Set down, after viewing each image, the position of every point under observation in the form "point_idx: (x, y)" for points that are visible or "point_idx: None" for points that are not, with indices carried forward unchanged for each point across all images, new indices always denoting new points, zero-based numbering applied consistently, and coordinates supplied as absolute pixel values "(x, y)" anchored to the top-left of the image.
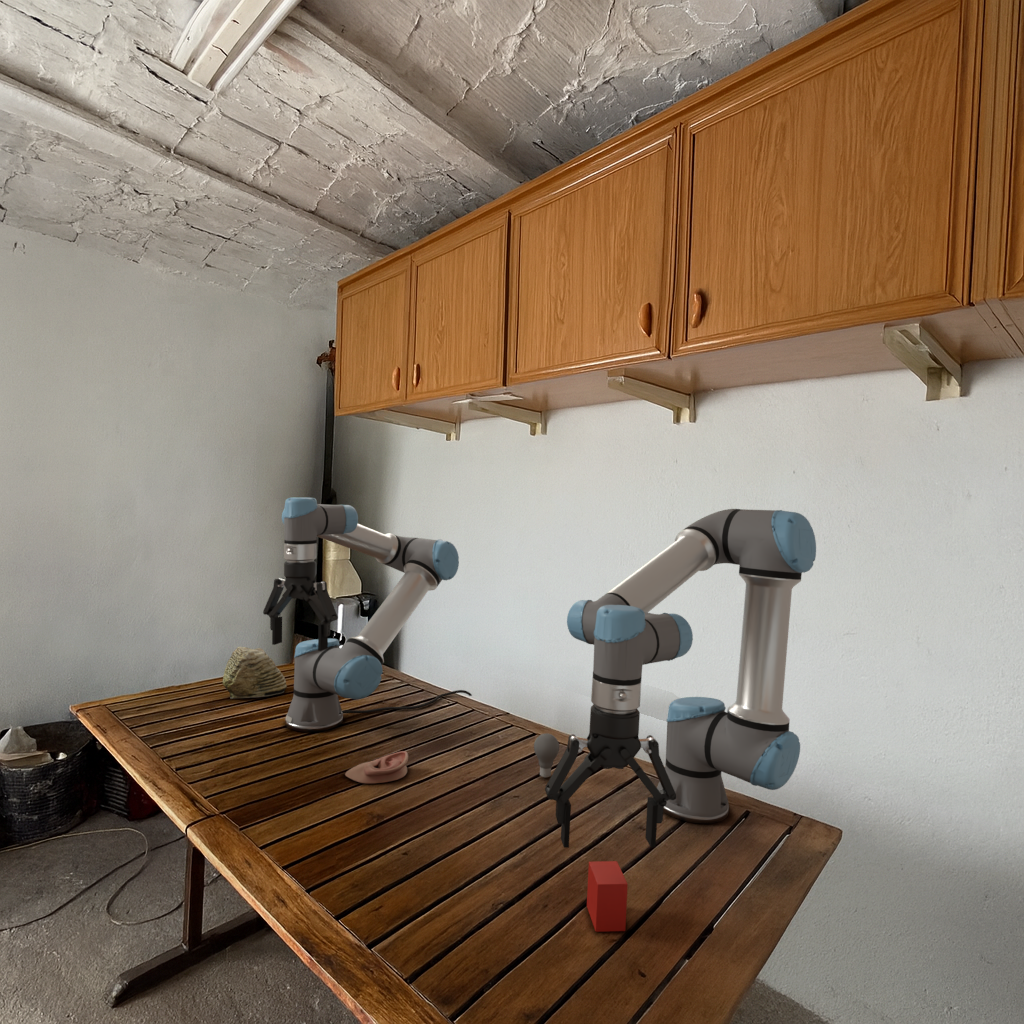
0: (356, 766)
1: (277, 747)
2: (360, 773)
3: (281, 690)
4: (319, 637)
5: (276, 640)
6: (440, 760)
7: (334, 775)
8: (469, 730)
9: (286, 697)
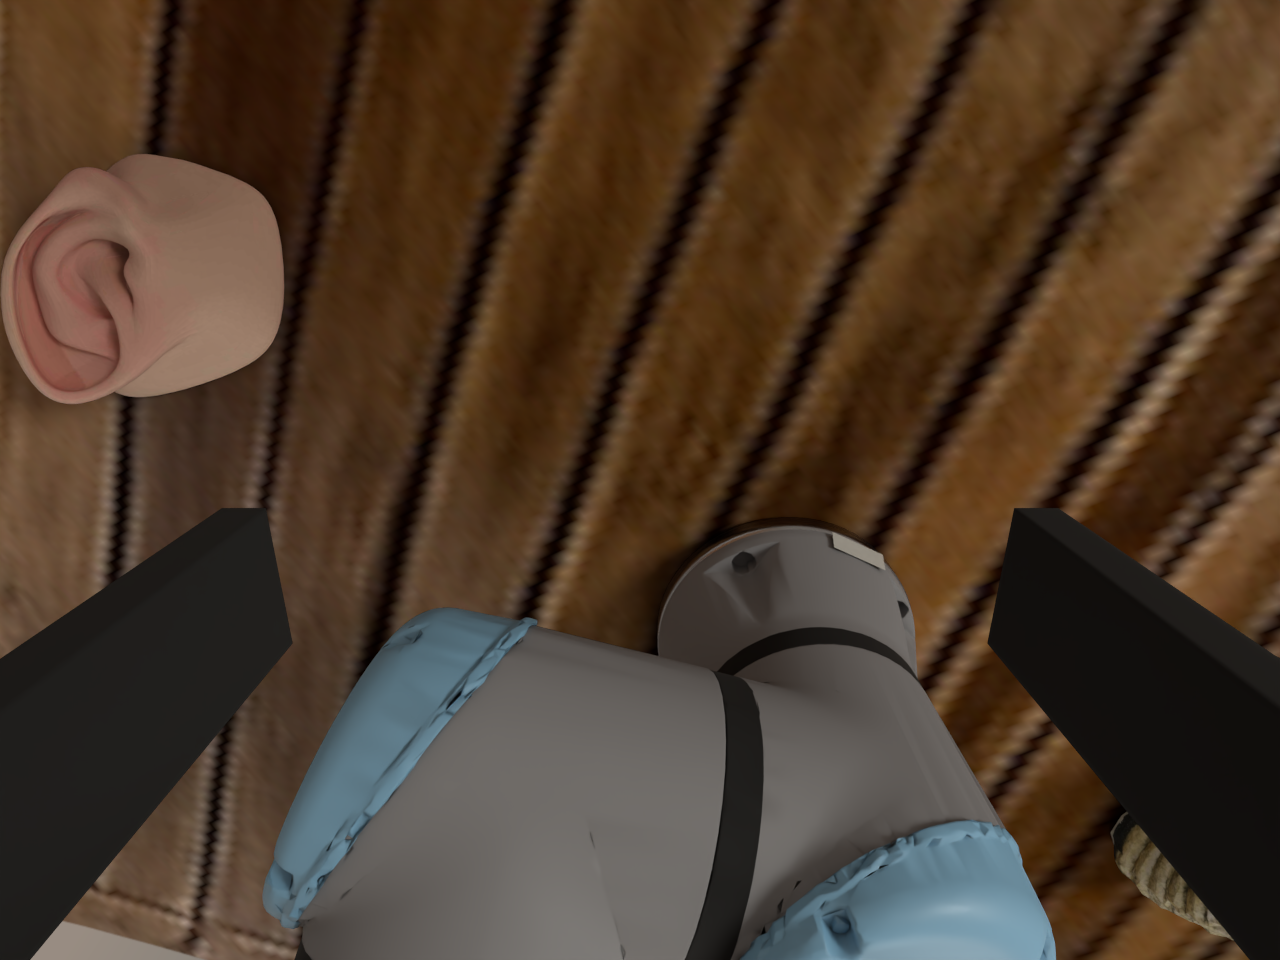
0: (239, 255)
1: (755, 333)
2: (168, 195)
3: (1122, 835)
4: (108, 601)
5: (1035, 567)
6: (63, 512)
7: (314, 183)
8: (181, 791)
9: (1068, 801)
